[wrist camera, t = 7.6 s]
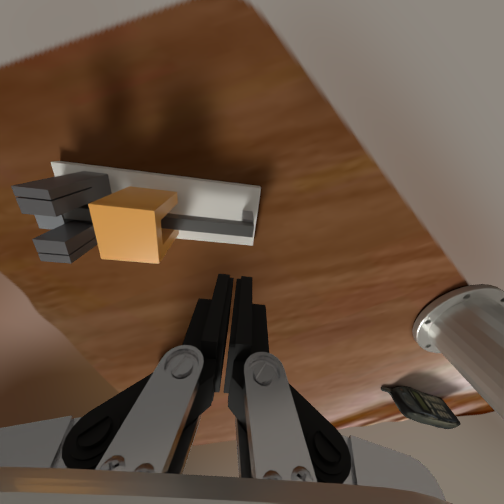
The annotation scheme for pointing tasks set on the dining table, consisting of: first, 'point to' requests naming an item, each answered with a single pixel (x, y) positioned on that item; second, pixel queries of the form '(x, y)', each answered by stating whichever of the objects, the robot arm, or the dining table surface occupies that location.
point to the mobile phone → (423, 407)
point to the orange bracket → (133, 224)
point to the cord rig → (114, 179)
